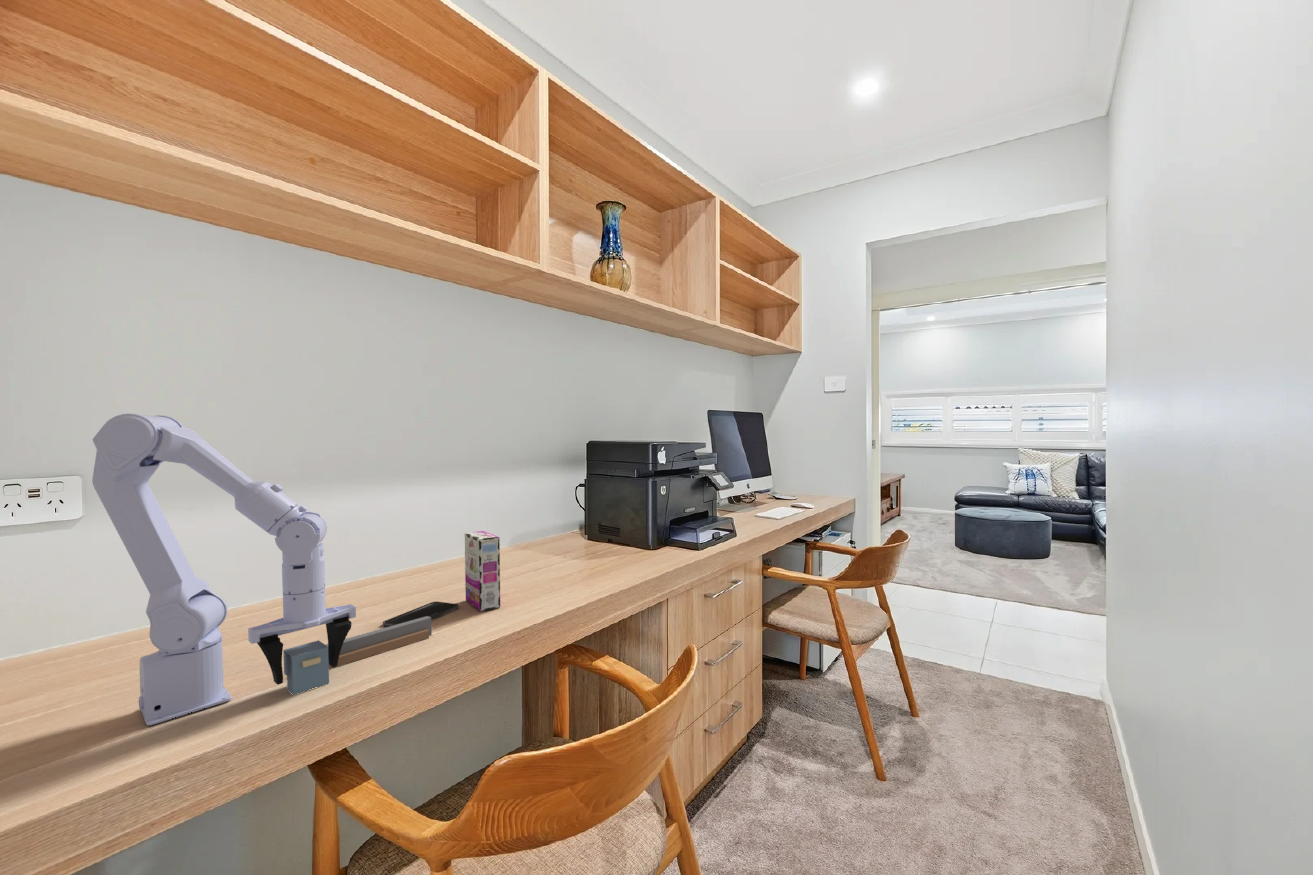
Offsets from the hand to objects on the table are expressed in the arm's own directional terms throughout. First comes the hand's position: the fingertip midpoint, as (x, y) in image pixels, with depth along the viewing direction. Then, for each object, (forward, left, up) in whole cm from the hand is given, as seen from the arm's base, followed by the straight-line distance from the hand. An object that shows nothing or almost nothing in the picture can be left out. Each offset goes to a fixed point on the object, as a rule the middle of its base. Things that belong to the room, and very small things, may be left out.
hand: (306, 673), depth 86 cm
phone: (+27, +17, -2) cm, 32 cm away
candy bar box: (+40, +14, -2) cm, 42 cm away
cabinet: (0, 0, -2) cm, 2 cm away
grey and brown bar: (+13, +6, -2) cm, 14 cm away
